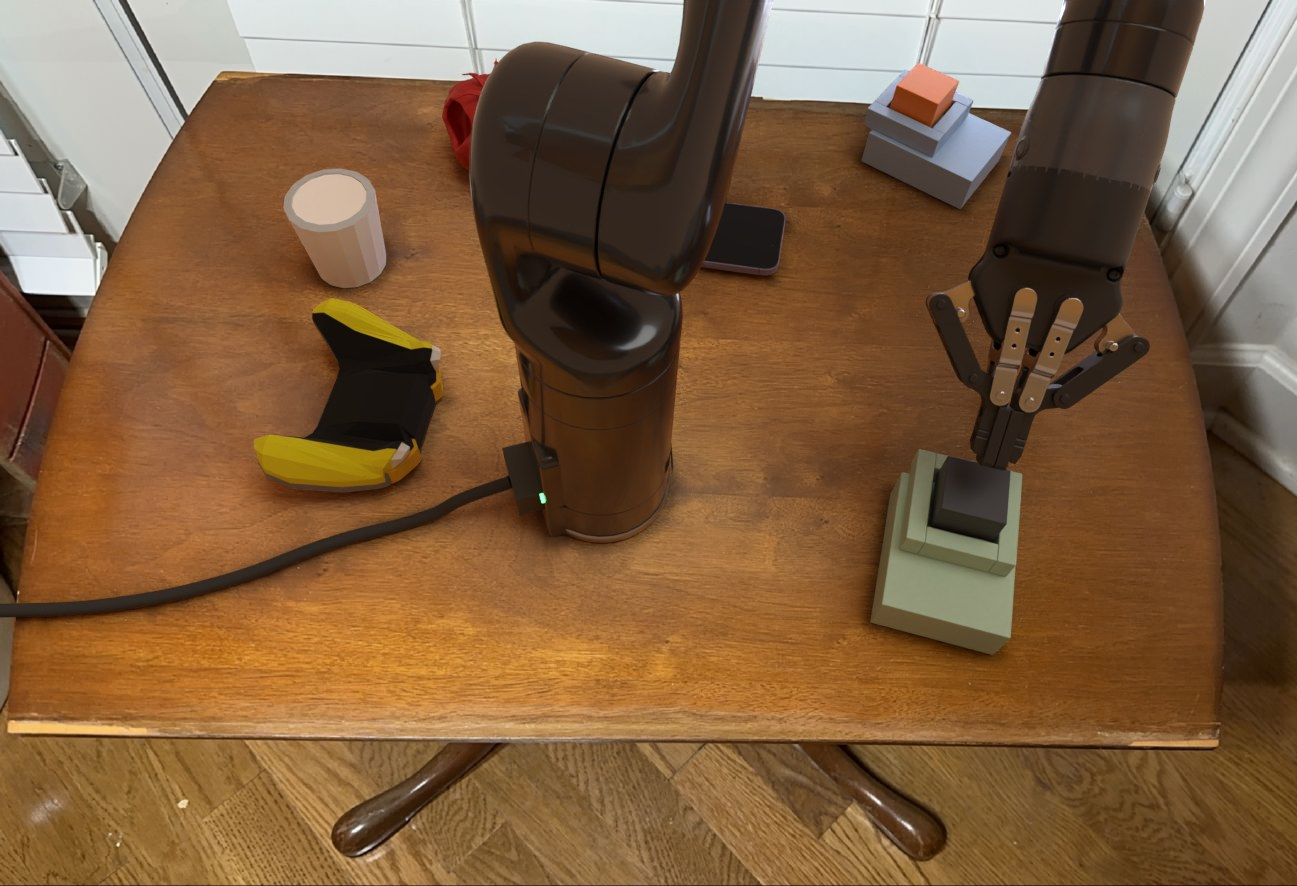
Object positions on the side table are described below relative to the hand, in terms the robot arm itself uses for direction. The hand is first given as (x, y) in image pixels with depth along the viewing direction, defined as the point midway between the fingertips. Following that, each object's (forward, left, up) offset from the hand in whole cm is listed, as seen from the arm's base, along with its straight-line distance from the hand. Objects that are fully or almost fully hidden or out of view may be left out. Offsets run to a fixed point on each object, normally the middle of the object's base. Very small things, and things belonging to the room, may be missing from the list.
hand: (989, 465), depth 56 cm
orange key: (+15, +37, -5) cm, 40 cm away
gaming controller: (-37, +21, -10) cm, 43 cm away
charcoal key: (0, 0, -5) cm, 5 cm away
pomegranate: (-21, +46, -10) cm, 51 cm away
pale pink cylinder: (-36, +37, -10) cm, 52 cm away
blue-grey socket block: (+16, +35, -9) cm, 39 cm away
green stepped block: (-2, -2, -9) cm, 10 cm away
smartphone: (-8, +32, -10) cm, 34 cm away
